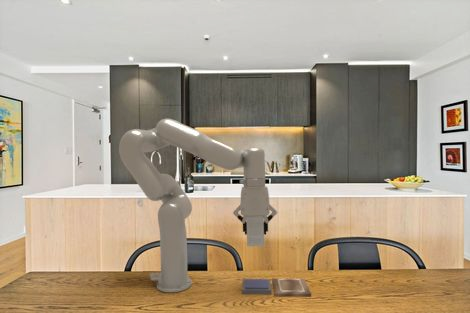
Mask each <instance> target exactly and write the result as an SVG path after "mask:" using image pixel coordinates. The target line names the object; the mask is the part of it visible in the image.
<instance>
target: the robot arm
mask: <svg viewBox="0 0 470 313" xmlns="http://www.w3.org/2000/svg"><path fill="white" fill-rule="evenodd" d="M168 146H174V147H176V148H178V149H181V150H183V151H185V152H187V153H189V154H192V155H193V156H195V157H197V158H200V159H202V160H204V161H206V162H208V163H210V164H212V165H215V166H217V167H219V168H222V169H224V170H226V171H233V170H236V169H239V168H243V179H240V180H239V184H240V185H243V186H242V187H241V190H240V204H239V205H238V206H237V207H236V208H235V209H234V211H233V212H232V214H233V215H234V216H235V217H236V218H237V219H238V220H239V221H240V222H241V223H242V232H243V233H244V235H246V236H247V222H246V216H263V219H264V236H265V235H267V232H269V222H271V220H272V219H273V218H274V217H275V216H276V215H277V214H278V211H277V210H276V209H275V208H274V207H273V206H272V205H271V204H270V194H269V188H268V186H266V164H265V162H266V159H265V155H266V154H265V150H264V148H261V147H252V148H251V147H248V148H238V147H237V148H236V147H231V146H228V145H226V144H224V143H221V142H219V141H216V140H214V139H212V138H211V137H209V136H208V135H207V134H205V133H203V132H202V131H200V130H197V129H196V128H193V127H191V126H188V125H186V124H184V123H181V122H180V121H178V120H175V119H172V118H162V119H161V120H159V121H158V122H157V123H156V126H155V127H154V128H151V129H147V130H146V129H140V128H135V129H129V130H128V131H125V133H124V134H123V135H122V137H121V139H120V141H119V146H118V153H119V156H120V160H121V162H122V163H123V165H124V167H126V169H127V170H128V172H129V173H130V175H131V176H132V177H133V179H134V181H135V182H136V183H137V185H138V186H139V188H140V189H141V190H142V192H143V194H144V195H145V197H147V199H149V200H150V201H153V202H158V201H161V203H162V204H161V205H160V207H159V209H158V211H157V222H158V227H159V228H158V229H159V244H160V245H159V246H160V247H159V248H160V249H159V250H160V272H158V273H157V272H151V273H150V274H149V279H150V281H152V282H155V281H157V282H156V288H157V290H159V291H160V292H163V293H179V292H182V291H186V290H187V289H189V288H190V287H191V286H192V285H193V280H192V279H191V278H190V277H189V276H188V244H187V243H188V241H187V240H188V238H187V237H188V236H187V235H188V234H187V229H186V228H187V227H186V223H185V222H186V219H187V218H188V217H189V216H190V215H191V214H192V211H193V206H192V202H191V200H190V198H189V196H188V195H187V194H186V193H185V191H184V190H183V189H182V187H181V186H180V184H179V182H178V181H177V180H176V179H175V178H174V177H173V176H171V175H170V174H168V173H161V172H160V171H159V170H158V169H157V167H156V166H155V165H154V162H152V160H150V158H149V157H148V156H147V155H146V154H145V153H151V152H155V151H157V150H160V149H163V148H166V147H168ZM239 212H240V213H239Z"/></svg>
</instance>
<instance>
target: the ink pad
mask: <svg viewBox="0 0 470 313" xmlns="http://www.w3.org/2000/svg"><path fill="white" fill-rule="evenodd" d="M241 286H242V287H241V291H242V295H272V294H273V292H272V282H271V279H269V278H242V285H241Z"/></svg>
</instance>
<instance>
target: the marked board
mask: <svg viewBox="0 0 470 313" xmlns="http://www.w3.org/2000/svg"><path fill="white" fill-rule="evenodd" d="M271 281H272V282H271V283H272V286H273V292H274V297H296V298H297V297H298V298H299V297H304V298H305V297H306V298H307V297H312V292H311V290H310V287H309V286H308V283H307V281H306V278H272V280H271Z"/></svg>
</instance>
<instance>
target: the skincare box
mask: <svg viewBox="0 0 470 313" xmlns="http://www.w3.org/2000/svg"><path fill="white" fill-rule="evenodd" d="M246 222H247V234H246V246H247V247H265V234H264V218H263V216H246Z"/></svg>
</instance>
